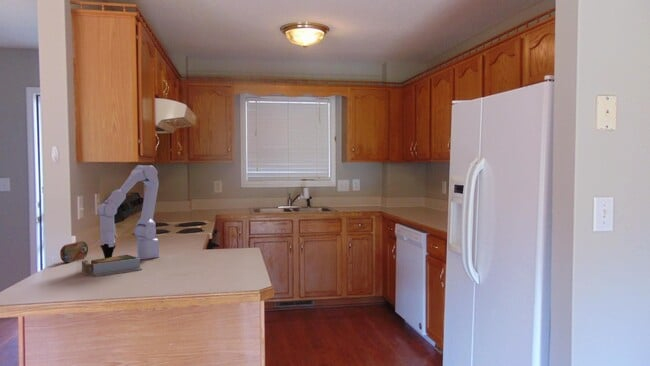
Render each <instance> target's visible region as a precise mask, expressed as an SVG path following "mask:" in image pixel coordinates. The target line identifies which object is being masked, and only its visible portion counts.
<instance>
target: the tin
mask: <svg viewBox="0 0 650 366" xmlns="http://www.w3.org/2000/svg"><path fill="white" fill-rule="evenodd" d="M88 251H89V247H88V244H87V243H86V242H85V241H83V240H82V241H76V242H70V243H67V244H64V245H63V246H62V247H61V249H60V251H59V254H60V260H61V261H62V262H64V263H74V262H77V261H80V260H85V258H86V257H87V255H88V253H89V252H88Z"/></svg>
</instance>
